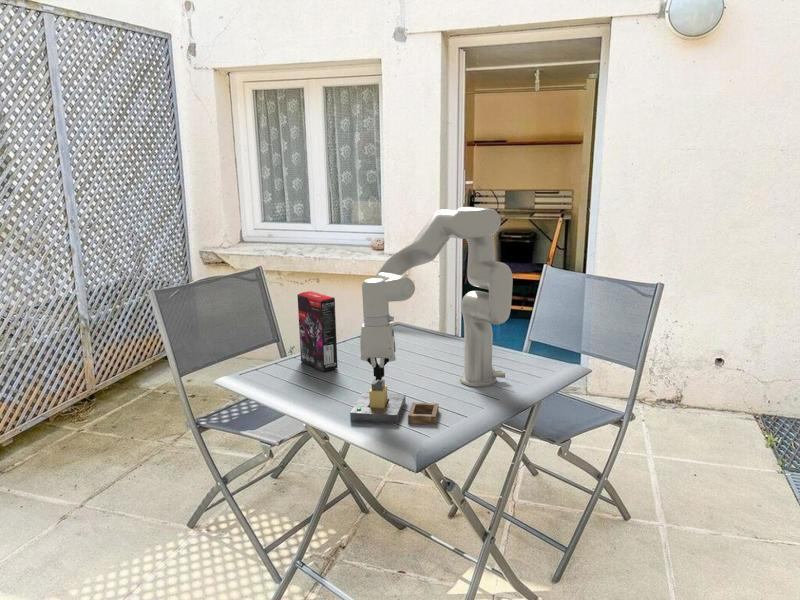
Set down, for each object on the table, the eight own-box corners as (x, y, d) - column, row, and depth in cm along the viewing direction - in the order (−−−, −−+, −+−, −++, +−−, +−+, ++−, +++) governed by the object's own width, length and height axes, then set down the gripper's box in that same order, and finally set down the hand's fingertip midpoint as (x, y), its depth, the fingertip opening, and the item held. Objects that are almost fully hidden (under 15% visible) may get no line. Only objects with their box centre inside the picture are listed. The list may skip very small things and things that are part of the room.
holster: (438, 411, 183) (438, 403, 182) (435, 424, 174) (435, 416, 173) (412, 410, 184) (412, 402, 184) (408, 423, 175) (407, 415, 174)
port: (405, 402, 190) (405, 392, 189) (397, 424, 174) (397, 413, 174) (362, 401, 192) (362, 391, 191) (350, 422, 177) (350, 411, 176)
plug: (387, 408, 186) (386, 378, 183) (384, 416, 180) (383, 385, 178) (373, 408, 186) (372, 377, 184) (370, 416, 181) (368, 385, 178)
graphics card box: (299, 362, 231) (295, 293, 225) (315, 358, 235) (311, 290, 229) (323, 373, 218) (319, 300, 212) (339, 368, 222) (336, 297, 216)
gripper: (403, 317, 179) (405, 374, 183) (354, 316, 181) (358, 373, 186) (399, 324, 172) (401, 384, 176) (348, 323, 174) (352, 382, 179)
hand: (379, 378), depth 181 cm, fingers closed
